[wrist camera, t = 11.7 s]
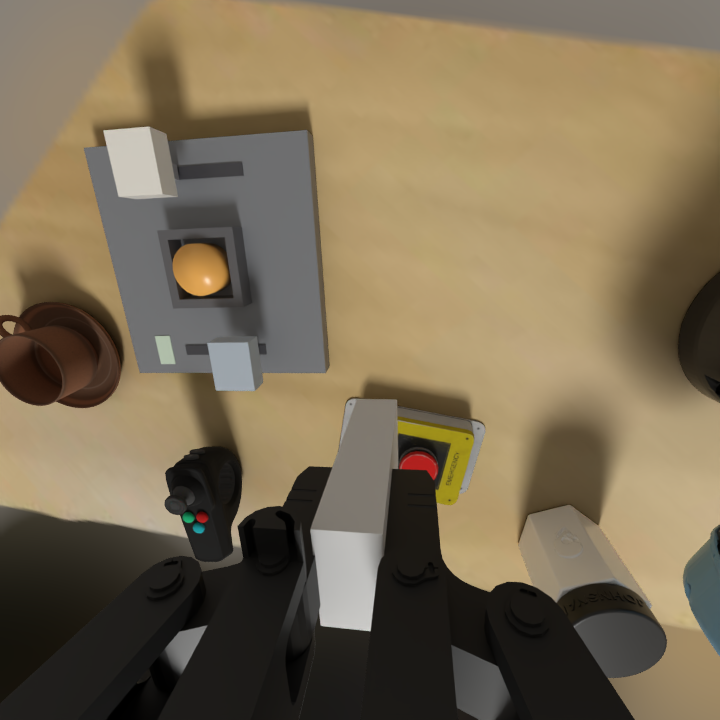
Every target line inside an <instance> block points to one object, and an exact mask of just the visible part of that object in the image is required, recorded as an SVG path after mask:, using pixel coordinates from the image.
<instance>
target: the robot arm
mask: <svg viewBox="0 0 720 720" xmlns="http://www.w3.org/2000/svg"><path fill="white" fill-rule="evenodd" d="M678 349H679V358H680V363H681V366H682V369H683V371H684V373H685V375H686V376H687V378H688V380H689V381H690V382H691V383H692V385H693V386H694V387H695V388H696V389H698V390H699V391H700V392H701V393H703V394H704V395H706V396H707V397H709V398H711V399H713V400H715V401H717V402H719V403H720V272H719V273H718V274H717V275H716V276H715V277H713V278H712V279H711V280H710V281H709V282H708V283H707V284H706V286H705V287H704V288H703V289H702V290H701V291H700V293H699V294H698V295H697V297H696V298H695V299H694V301H693V303H692V304H691V306H690V308H689V310H688V311H687V314H686V316H685V318H684V321H683V323H682V327H681V330H680V335H679V345H678ZM238 531H239V537H240V542H241V547H242V553H243V560H242V562H240V563H238V564H235V565H231V566H228V567H224V568H218V569H213V570H209V571H204V572H202V571H201V568H200V565H199V562H198V561H196V560H195V559H193V558H192V557H185V556H179V557H173V558H168V559H166V560H164V561H161V562H159V563H157V564H155V565H153V566H152V567H151V568H150V569H148V570H146V571H145V572H144V573H142V574H141V575H140V576H139V577H138V578H137V579H136V580H135V581H134V582H133V583H132V584H130V585H129V586H128V587H127V588H126V589H125V590H124V591H123V592H122V593H120V594H119V595H118V596H117V597H116V598H115V599H114V600H113V601H112V602H111V603H110V604H108V605H107V606H106V607H105V608H104V609H103V610H102V611H101V612H100V613H99V614H98V615H97V616H95V617H94V618H93V619H92V620H91V621H90V622H89V623H88V624H87V625H86V626H84V627H83V628H82V629H81V630H80V631H79V632H78V633H77V634H76V635H75V636H73V638H71V639H70V640H69V641H68V642H67V643H66V644H65V645H64V646H63V647H62V648H60V649H59V650H58V651H57V652H56V653H55V654H54V655H53V656H52V657H51V658H50V659H49V660H47V661H46V662H45V663H44V664H43V665H42V666H41V667H40V668H39V669H37V670H36V671H35V672H34V673H33V674H32V675H31V676H30V677H29V678H28V679H27V680H25V681H24V683H22V684H21V685H20V686H19V687H18V688H17V689H16V690H15V691H13V692H12V693H11V694H10V695H9V696H8V697H7V698H6V699H5V700H4V701H2V702H1V703H0V720H299V716H300V712H301V708H302V704H303V700H304V695H305V691H306V687H307V683H308V679H309V674H310V670H311V666H312V662H313V658H314V653H315V635H314V629H315V624H316V621H317V617H318V613H320V622H321V626H328V627H338V628H347V629H357V630H365V631H370V640H369V650H368V658H367V666H366V675H365V684H364V692H363V702H362V710H361V720H458V715H457V708H459V709H460V710H462V711H464V712H466V713H468V714H470V715H472V716H473V717H476V718H477V719H479V720H635V719H634V718H633V716H632V715H631V713H630V712H629V710H628V709H627V707H626V706H625V704H624V703H623V701H622V700H621V698H620V697H619V695H618V694H617V692H616V690H615V689H614V687H613V686H612V684H611V683H610V681H609V680H608V678H607V677H606V675H605V674H604V672H603V671H602V669H601V668H600V666H599V665H598V663H597V662H596V660H595V658H594V657H593V655H592V654H591V652H590V651H589V649H588V648H587V646H586V645H585V643H584V642H583V640H582V639H581V637H580V636H579V634H578V633H577V631H576V629H575V628H574V626H573V625H572V623H571V622H570V620H569V619H568V617H567V616H566V614H565V613H564V611H563V610H562V609H561V608H560V607H559V605H558V604H557V603H556V602H555V601H554V600H553V599H552V597H550V596H549V595H547V594H546V593H544V592H543V591H541V590H540V589H538V588H536V587H533V586H531V585H528V584H525V583H521V582H506V583H503V584H500V585H497V586H496V587H495V588H494V589H493V590H492V591H491V592H487V591H484V590H482V589H479V588H477V587H474V586H472V585H469V584H467V583H465V582H463V581H462V580H460V579H459V578H458V577H456V576H455V575H454V574H453V573H452V572H451V571H450V570H449V569H448V568H447V566H446V564H445V563H444V561H443V559H442V555H441V549H440V537H439V525H438V514H437V502H436V490H435V481H434V480H433V478H432V477H431V476H430V474H429V473H428V471H427V470H411V469H398V421H397V399H357V400H356V403H355V406H354V409H353V411H352V414H351V417H350V420H349V423H348V425H347V428H346V431H345V434H344V437H343V439H342V442H341V445H340V448H339V451H338V453H337V456H336V459H335V462H334V464H333V467H310V466H309V467H308V468H307V469H306V470H304V471H303V472H302V473H301V474H300V475H299V476H297V478H296V480H295V482H294V485H293V487H292V490H291V491H290V493H289V495H288V497H287V500H286V501H285V503H284V505H283V507H281V506H275V507H266V508H263V509H260V510H257V511H255V512H254V513H252V514H250V515H249V516H247V517H246V518H245V519H244V520H243V521H242V522H241V523H240V524H239V525H238ZM683 584H684V588H685V593H686V596H687V598H688V600H689V604H690V607H691V610H692V612H693V614H694V616H695V618H696V620H697V621H698V623H699V625H700V627H701V629H702V630H703V632H704V634H705V635H706V637H707V638H708V640H709V641H710V643H711V645H712V646H713V647H714V649H715V650H716V652H717V653H718V655H719V656H720V525H718V526H717V527H715V528H714V529H713V531H712V532H711V536H710V539H709V540H708V541H707V542H706V543H705V544H704V545H703V546H702V547H701V548H700V549H699V551H698V552H697V553H696V554H695V555H694V556H693V557H692V558H691V559H690V560H689V561H688V563H687V564H686V566H685V569H684V574H683Z"/></svg>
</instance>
